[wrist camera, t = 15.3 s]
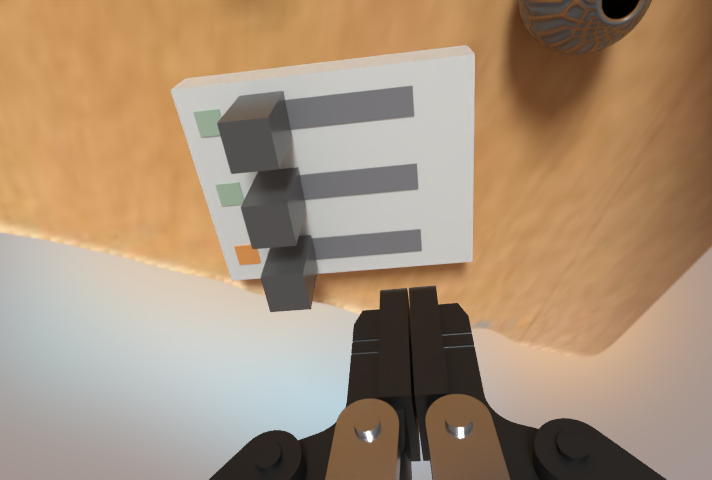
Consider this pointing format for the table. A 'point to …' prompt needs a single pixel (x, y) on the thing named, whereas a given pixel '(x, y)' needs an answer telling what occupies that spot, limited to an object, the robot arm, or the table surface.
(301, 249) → the block
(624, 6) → the vase
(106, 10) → the table surface
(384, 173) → the breaker panel
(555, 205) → the table surface
